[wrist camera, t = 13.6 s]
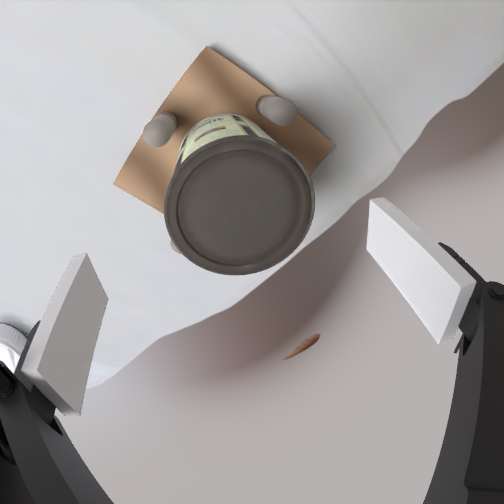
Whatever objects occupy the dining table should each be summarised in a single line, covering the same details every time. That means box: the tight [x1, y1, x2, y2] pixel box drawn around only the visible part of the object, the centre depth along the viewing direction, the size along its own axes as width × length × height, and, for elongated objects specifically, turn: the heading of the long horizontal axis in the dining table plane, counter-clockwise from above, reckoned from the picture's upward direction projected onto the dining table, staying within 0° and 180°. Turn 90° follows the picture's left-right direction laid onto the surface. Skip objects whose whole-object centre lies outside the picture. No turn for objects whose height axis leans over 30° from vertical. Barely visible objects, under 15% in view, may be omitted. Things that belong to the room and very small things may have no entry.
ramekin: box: [0, 324, 27, 374], centre depth 41 cm, size 11×11×5 cm
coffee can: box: [164, 113, 315, 275], centre depth 26 cm, size 10×10×14 cm
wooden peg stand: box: [113, 46, 335, 254], centre depth 30 cm, size 18×18×8 cm
